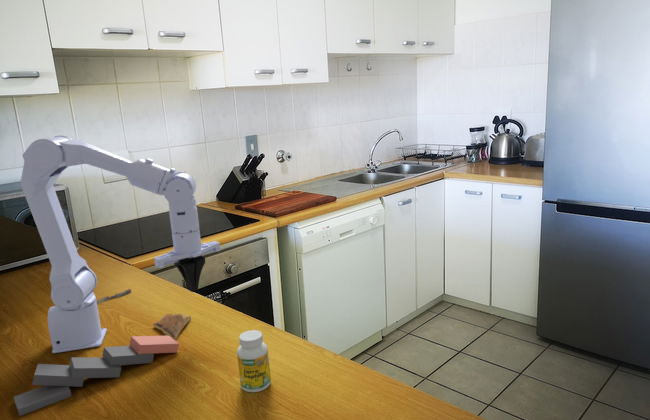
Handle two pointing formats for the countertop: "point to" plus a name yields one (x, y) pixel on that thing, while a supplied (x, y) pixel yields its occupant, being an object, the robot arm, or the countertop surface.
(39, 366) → the domino
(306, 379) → the countertop surface
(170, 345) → the red domino
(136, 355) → the domino
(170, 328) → the shard
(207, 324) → the countertop surface
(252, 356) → the supplement bottle
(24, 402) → the domino
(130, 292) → the grey brown bark strip
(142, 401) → the countertop surface
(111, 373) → the domino
